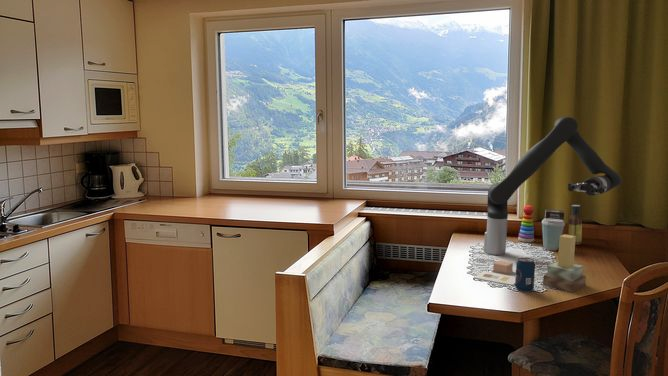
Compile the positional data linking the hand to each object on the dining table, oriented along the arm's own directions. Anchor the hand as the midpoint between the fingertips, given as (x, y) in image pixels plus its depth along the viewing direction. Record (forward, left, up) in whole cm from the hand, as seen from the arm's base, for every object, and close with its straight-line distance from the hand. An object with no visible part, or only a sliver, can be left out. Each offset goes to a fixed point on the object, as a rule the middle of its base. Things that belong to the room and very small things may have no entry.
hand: (580, 190), depth 238 cm
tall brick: (+3, -17, -28) cm, 33 cm away
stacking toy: (-40, +39, -36) cm, 67 cm away
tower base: (+3, -17, -36) cm, 40 cm away
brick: (-23, -18, -36) cm, 47 cm away
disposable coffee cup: (-24, +33, -36) cm, 54 cm away
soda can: (-6, -33, -36) cm, 49 cm away
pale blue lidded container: (-30, +48, -36) cm, 67 cm away
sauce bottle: (-20, +51, -36) cm, 66 cm away
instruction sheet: (-20, -28, -36) cm, 50 cm away
